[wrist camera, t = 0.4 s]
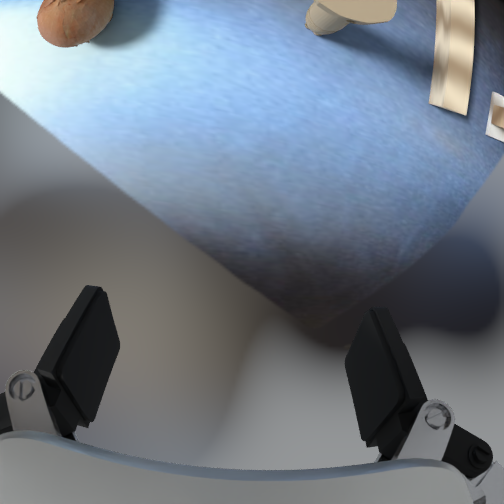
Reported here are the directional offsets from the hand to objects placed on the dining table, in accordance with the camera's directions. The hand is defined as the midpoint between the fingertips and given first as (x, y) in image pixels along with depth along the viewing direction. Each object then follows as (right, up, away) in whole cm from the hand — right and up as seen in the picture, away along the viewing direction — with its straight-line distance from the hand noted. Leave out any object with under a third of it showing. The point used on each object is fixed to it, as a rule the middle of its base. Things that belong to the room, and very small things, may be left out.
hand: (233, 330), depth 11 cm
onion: (-20, +33, +15) cm, 41 cm away
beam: (+26, +32, +15) cm, 45 cm away
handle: (+8, +29, +17) cm, 35 cm away
